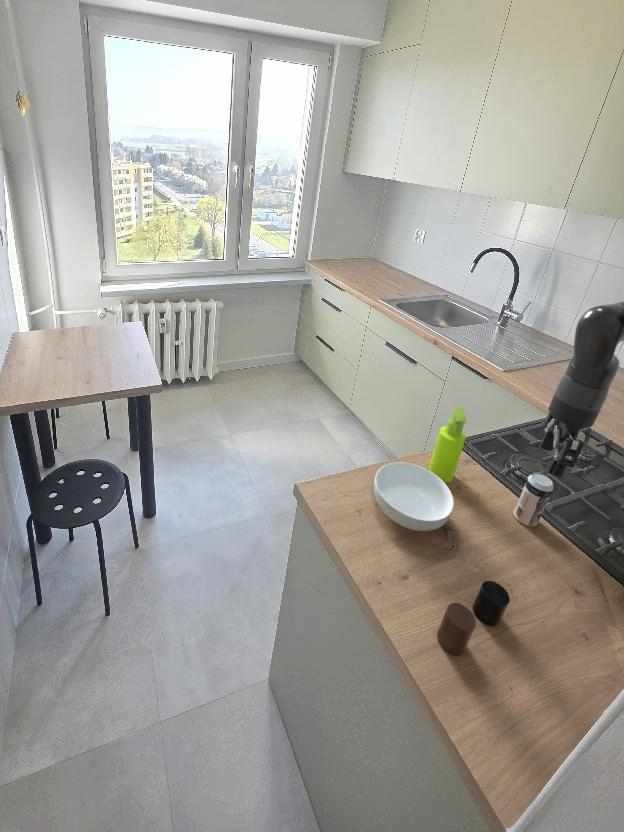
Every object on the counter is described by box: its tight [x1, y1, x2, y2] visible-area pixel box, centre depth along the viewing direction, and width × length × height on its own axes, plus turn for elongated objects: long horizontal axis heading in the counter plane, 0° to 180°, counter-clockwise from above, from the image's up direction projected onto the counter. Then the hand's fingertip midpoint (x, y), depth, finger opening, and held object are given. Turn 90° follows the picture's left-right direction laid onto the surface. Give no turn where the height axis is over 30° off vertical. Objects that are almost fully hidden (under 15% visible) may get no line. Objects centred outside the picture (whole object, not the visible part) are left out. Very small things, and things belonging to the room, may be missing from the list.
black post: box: [472, 580, 511, 627], centre depth 75 cm, size 4×4×6 cm
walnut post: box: [436, 602, 477, 657], centre depth 70 cm, size 4×4×7 cm
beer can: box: [513, 472, 554, 527], centre depth 94 cm, size 5×5×12 cm
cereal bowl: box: [373, 461, 455, 532], centre depth 95 cm, size 17×17×7 cm
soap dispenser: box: [427, 407, 467, 483], centre depth 104 cm, size 6×7×20 cm
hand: (549, 461), depth 89 cm, fingers open, 8 cm apart
